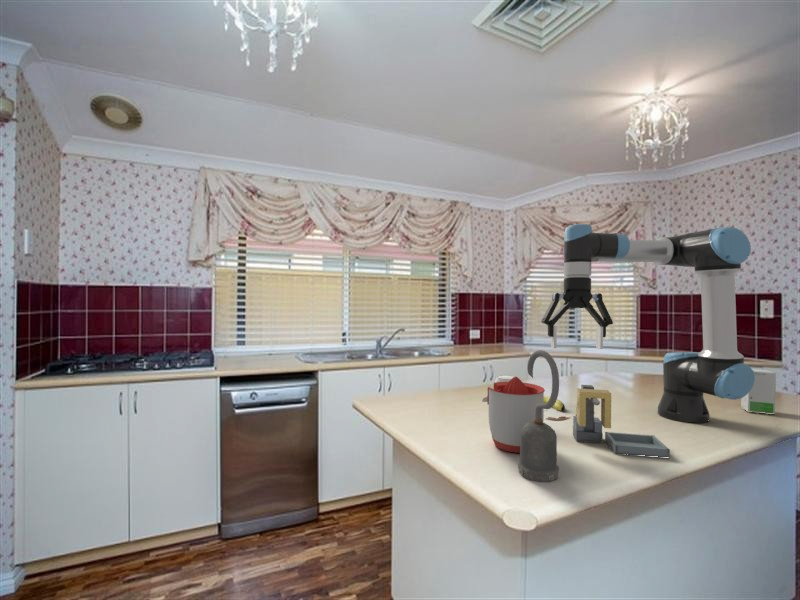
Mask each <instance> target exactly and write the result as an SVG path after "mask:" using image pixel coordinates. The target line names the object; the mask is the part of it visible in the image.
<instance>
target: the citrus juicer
mask: <svg viewBox="0 0 800 600" xmlns="http://www.w3.org/2000/svg"><path fill="white" fill-rule="evenodd" d="M545 391H546V390H545V388H544V387H542V386H540V385H537V384H533V383H530V382H529V383H528V382H523V381H522V379H520V378H519V377H518V376H516V377H513V378H512V379H511V380H510V381H509V382H496V383H495V382H493V388H492V387H490V386H487V395H486V396H485V397H483V398H482V400H481V402H482V403H486V402H487V405H488V423H489V424H488V425H489V431H490V435H491V438H492V441H493V443H494V446H495V447H497V448H498V449H499V450H503V451H506V452H509V453H517V454H520V432H521V429H522V427H523V426H525V425H526V424H527V423H530V422H534V419H535V408H536V406H537V405H538V404H542V403H544V396H545V393H544V392H545ZM544 410H545V409H542V421H543V422H544V416H545V414H544V412H545V411H544Z"/></svg>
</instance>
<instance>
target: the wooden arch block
mask: <svg viewBox="0 0 800 600" xmlns="http://www.w3.org/2000/svg"><path fill="white" fill-rule="evenodd" d="M586 398H597V399H598V400H599V399H600V400H601V402H600V409H601V410H600V421H601V424H602V427H604V428H603V429H612V393H611V392H610V391H609V390H608V389H598V388H597V389H596V388H594V389H581V388H576V414H577V423H578V424H579V426H586Z"/></svg>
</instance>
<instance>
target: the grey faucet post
mask: <svg viewBox="0 0 800 600" xmlns="http://www.w3.org/2000/svg"><path fill="white" fill-rule="evenodd" d="M580 389H595V386H593V385H591V384H581V385H580ZM599 405H601V402H600V400H599V398H586V426H579V424H578V423H577V416H576V415H573V416H572V417H573V418H572V421H573V423H572V424H573V425H572V436H573V438H574V440H575V441H576V443H585V444H586V443H587V444H588V443H589V444H601V445H603V437H604V436H603V425H602V424H601V418H599V417H595V406H599Z"/></svg>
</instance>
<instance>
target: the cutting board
mask: <svg viewBox="0 0 800 600" xmlns="http://www.w3.org/2000/svg"><path fill="white" fill-rule="evenodd" d="M549 399H550V396H549V395H548V396H547V395H544V403H547V402H548V401H549ZM552 408H553V409H555V410H556V411H558V412H562V411H564V410H565V403H563V401H562V400H560V399H558V398H557V400H556V402H555V404H554V406H553V407H552ZM552 408H551V409H552ZM544 412H548V409H544ZM575 416H577V413H576V414H575ZM545 419H546V420H548V421H549V420H550V421H564V420H568V419H571V416H559V417H557V418H556V417H554V416H553V417H552V416H547V417H545Z"/></svg>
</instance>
